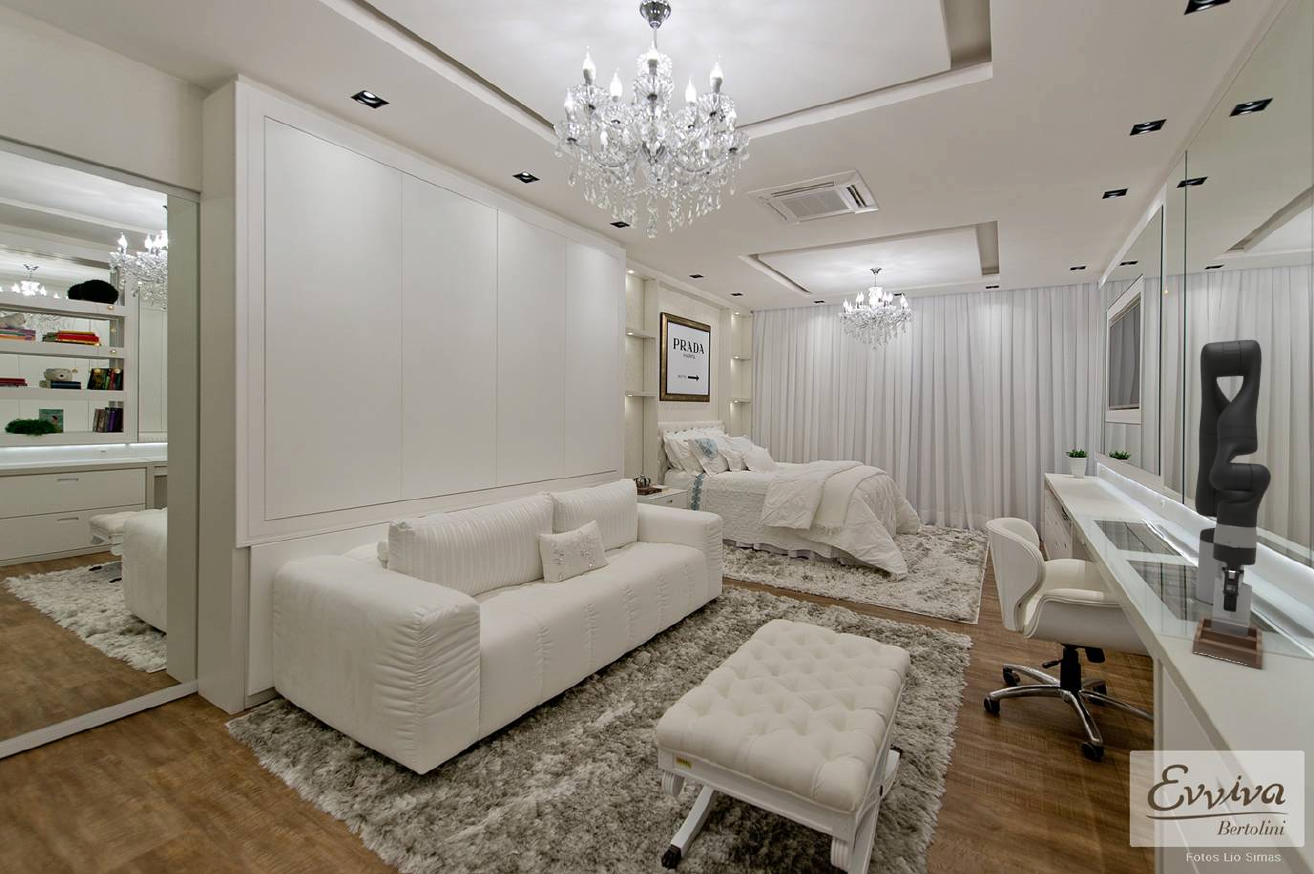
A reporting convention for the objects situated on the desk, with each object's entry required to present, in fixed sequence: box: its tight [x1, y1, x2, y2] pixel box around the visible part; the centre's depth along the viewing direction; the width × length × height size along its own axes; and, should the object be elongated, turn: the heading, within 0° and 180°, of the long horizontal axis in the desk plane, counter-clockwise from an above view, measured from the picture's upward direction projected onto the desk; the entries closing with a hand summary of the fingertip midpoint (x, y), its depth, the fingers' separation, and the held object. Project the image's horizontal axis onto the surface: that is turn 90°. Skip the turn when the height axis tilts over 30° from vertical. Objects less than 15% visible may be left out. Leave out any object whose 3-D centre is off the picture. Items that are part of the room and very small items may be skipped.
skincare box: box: [1212, 578, 1253, 627], centre depth 143 cm, size 6×4×12 cm
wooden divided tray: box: [1192, 614, 1263, 670], centre depth 132 cm, size 20×11×5 cm, turn 134°
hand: (1230, 607), depth 143 cm, fingers open, 8 cm apart
